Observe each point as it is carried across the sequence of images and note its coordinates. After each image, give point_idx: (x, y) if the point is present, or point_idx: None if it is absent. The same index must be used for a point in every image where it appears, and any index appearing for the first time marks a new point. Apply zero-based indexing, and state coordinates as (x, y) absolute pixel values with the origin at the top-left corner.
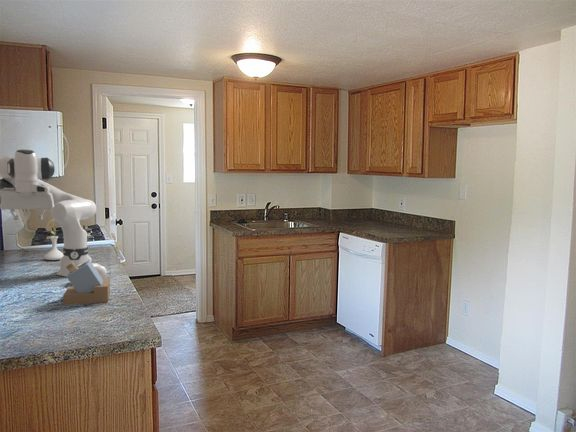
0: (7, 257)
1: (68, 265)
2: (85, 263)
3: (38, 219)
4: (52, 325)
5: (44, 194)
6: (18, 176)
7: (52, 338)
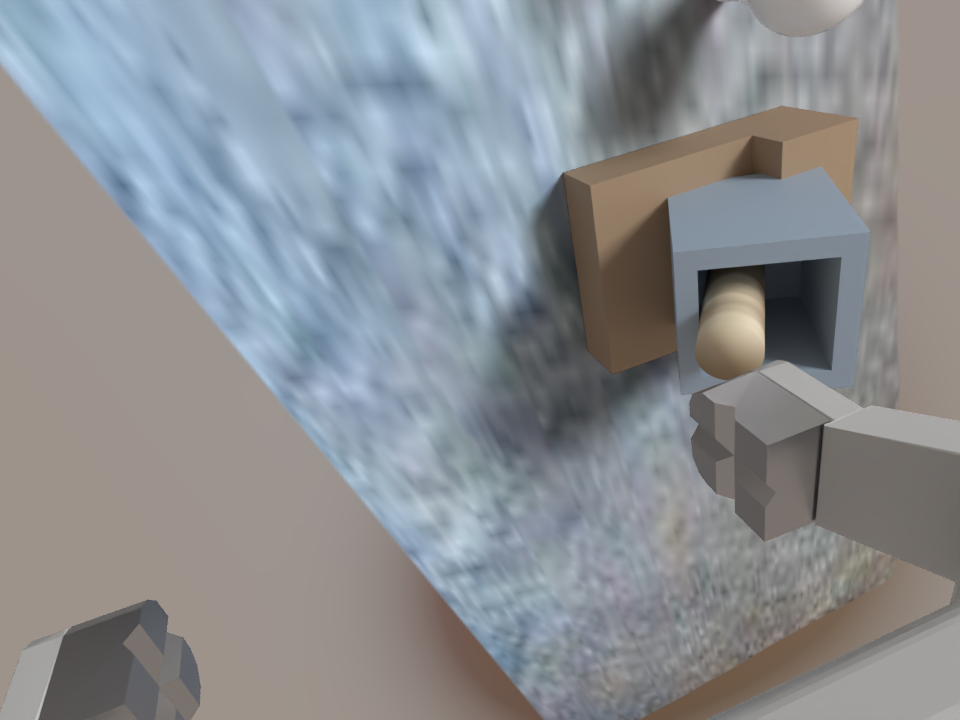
0: None
1: (727, 379)
2: (822, 255)
3: (697, 459)
4: (618, 571)
5: None
6: None
7: (648, 648)
